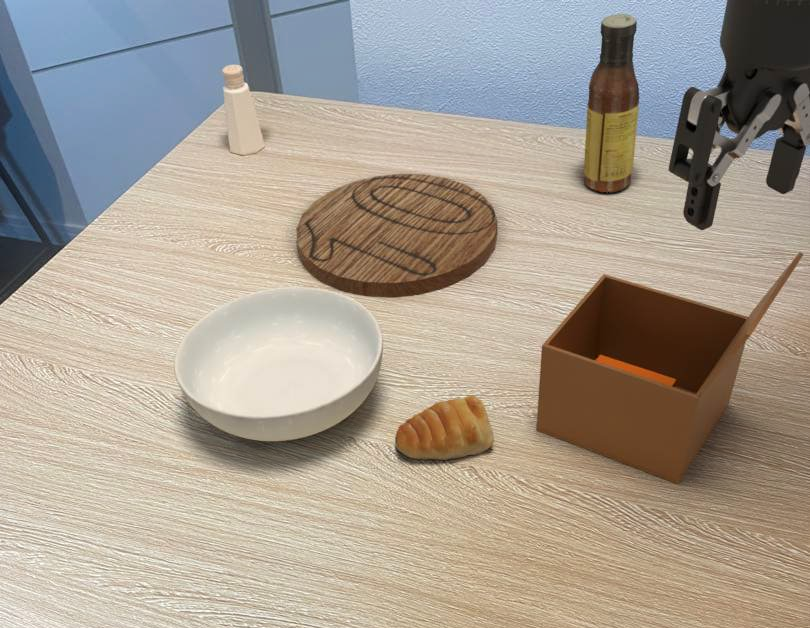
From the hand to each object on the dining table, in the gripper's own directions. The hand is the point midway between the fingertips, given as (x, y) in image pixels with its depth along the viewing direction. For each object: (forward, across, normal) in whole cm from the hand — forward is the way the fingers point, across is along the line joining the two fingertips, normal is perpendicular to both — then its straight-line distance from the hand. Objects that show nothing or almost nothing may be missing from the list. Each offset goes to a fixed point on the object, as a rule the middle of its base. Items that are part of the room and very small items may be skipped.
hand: (738, 206), depth 71 cm
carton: (+24, -3, +5) cm, 25 cm away
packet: (+24, -3, +6) cm, 24 cm away
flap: (+9, +1, -3) cm, 10 cm away
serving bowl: (+24, -30, +28) cm, 47 cm away
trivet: (+24, -4, +47) cm, 53 cm away
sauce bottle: (+24, +25, +41) cm, 54 cm away
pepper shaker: (+24, -9, +81) cm, 85 cm away
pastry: (+24, -19, +12) cm, 33 cm away
